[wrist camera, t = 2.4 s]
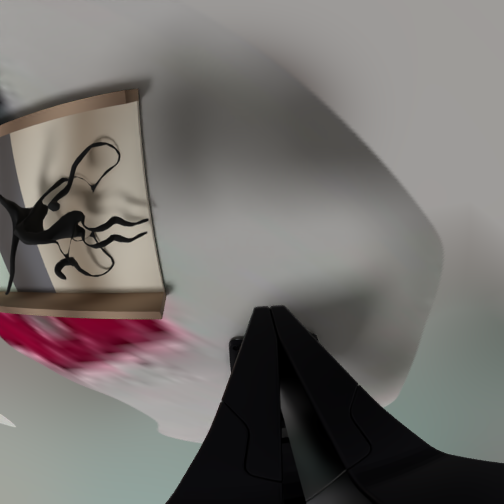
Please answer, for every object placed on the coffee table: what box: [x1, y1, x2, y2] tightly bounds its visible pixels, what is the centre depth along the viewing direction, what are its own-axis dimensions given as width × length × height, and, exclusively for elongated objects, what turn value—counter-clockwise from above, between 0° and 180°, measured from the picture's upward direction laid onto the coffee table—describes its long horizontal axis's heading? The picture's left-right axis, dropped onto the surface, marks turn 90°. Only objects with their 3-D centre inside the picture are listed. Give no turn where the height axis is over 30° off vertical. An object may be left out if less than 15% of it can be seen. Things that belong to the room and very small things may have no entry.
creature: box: [0, 142, 149, 295], centre depth 12 cm, size 8×5×8 cm
